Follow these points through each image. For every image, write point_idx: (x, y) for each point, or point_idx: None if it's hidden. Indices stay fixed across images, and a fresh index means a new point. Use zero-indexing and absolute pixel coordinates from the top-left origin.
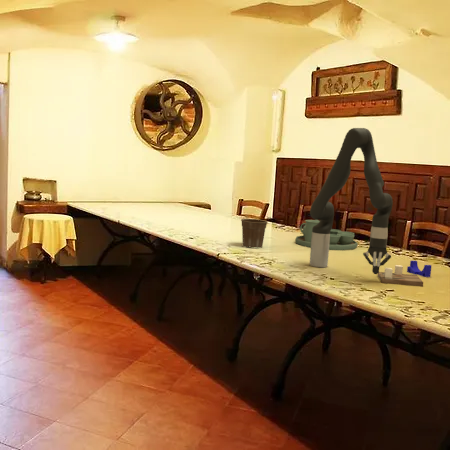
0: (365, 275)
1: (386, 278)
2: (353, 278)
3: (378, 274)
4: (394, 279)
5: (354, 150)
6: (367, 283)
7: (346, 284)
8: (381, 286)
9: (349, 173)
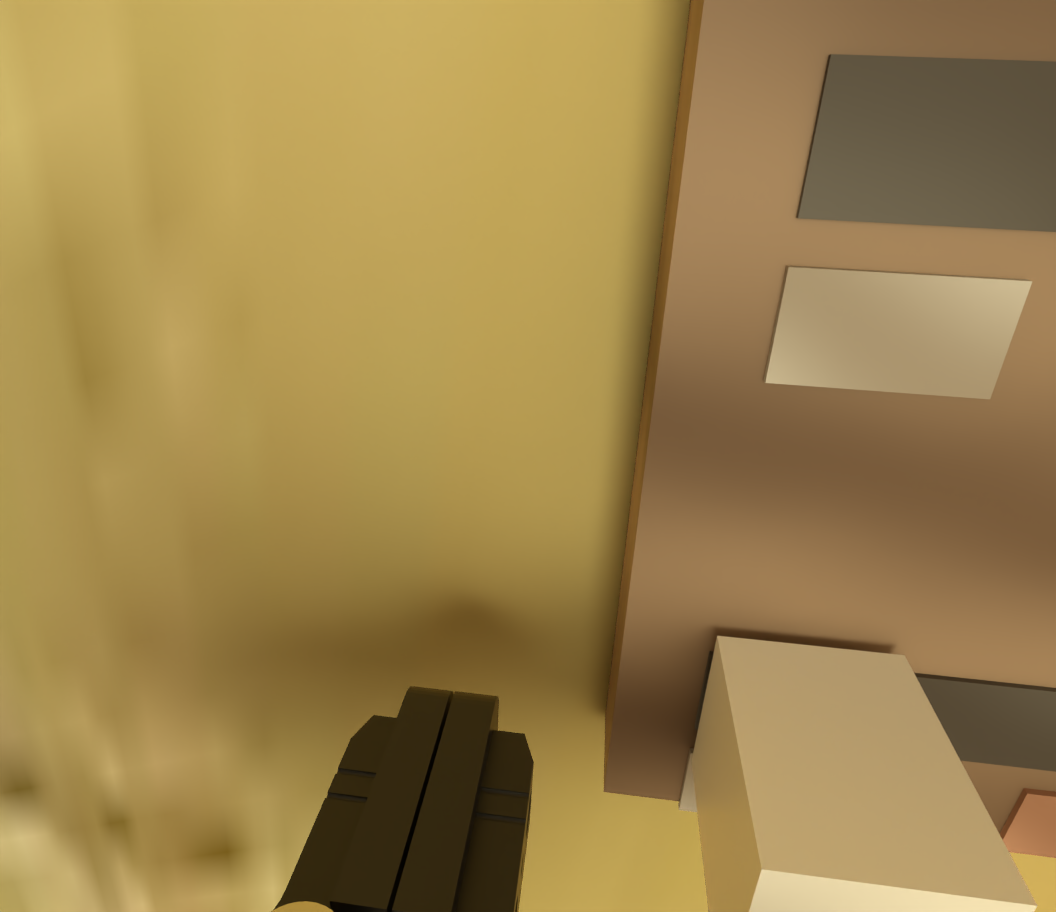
0: (292, 3)
1: None
2: (56, 509)
3: (681, 136)
4: None
5: None
6: None
7: (52, 882)
8: (544, 905)
9: None
